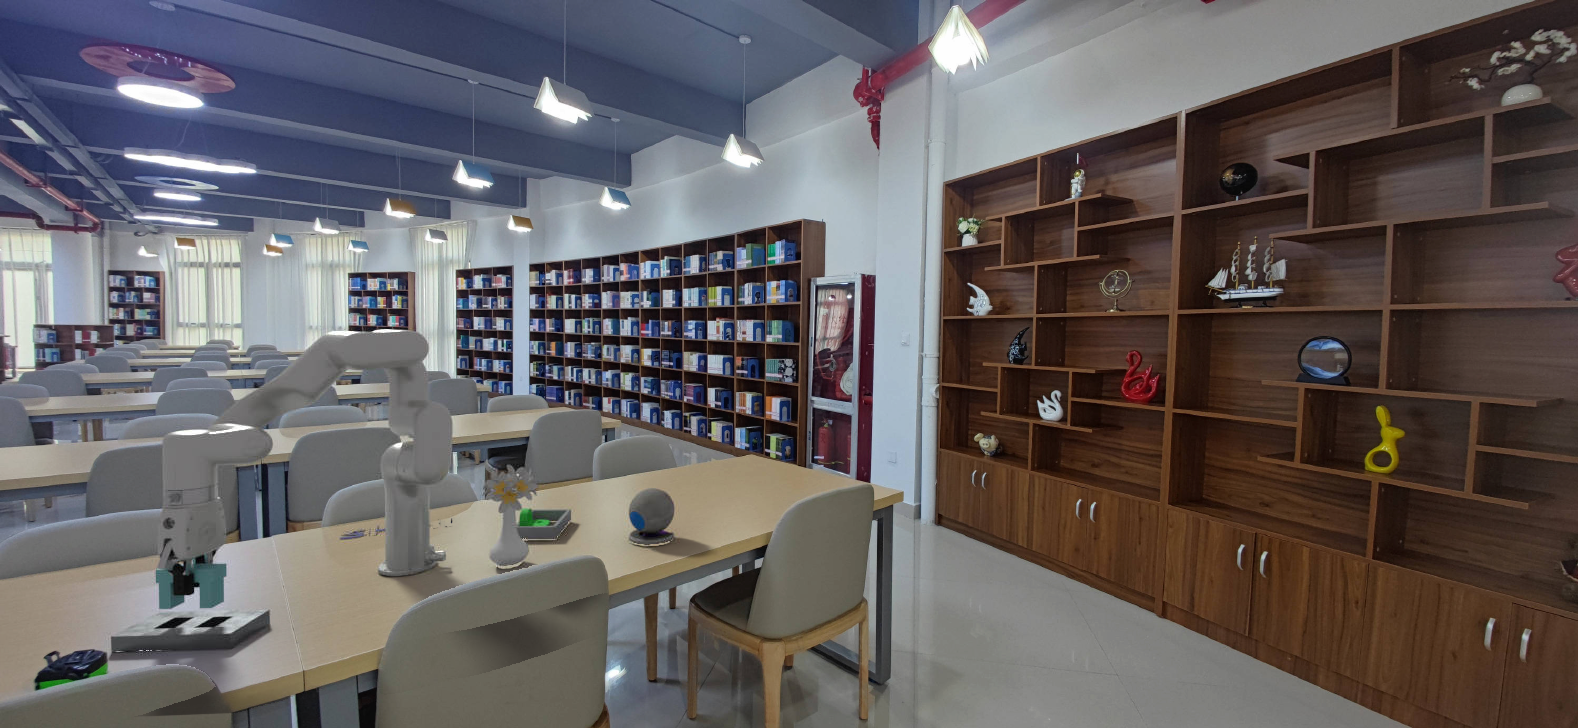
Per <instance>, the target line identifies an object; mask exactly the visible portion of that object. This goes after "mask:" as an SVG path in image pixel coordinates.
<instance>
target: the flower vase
mask: <svg viewBox="0 0 1578 728" xmlns="http://www.w3.org/2000/svg"><path fill="white" fill-rule="evenodd" d="M506 469H507V471H508V473H505V472H504V471H501V472H500V473H499V474H498V469H493V470H492V471H491V473H490V479H487V480H485V483H484V485H483V487H482V490H485V491H484V492H483V493H482V495H481V497H484V496H485V495H486V496H485V500H486V501H489V500H492V501H494V502H500V504H499V506H498V513H499V514H502V524H501V525H502V527H501V532H500V535H499V537H498V538H497V541H496V542H495V543H494V544H493V545H492V547H490V549H489V554H488V556H489V559H490V560H491V562H493V563H494V564H495V565H496V564H497V565H499V566H507V565H514V564H517V563H519V562H521V561H522V562H523V561H524V560H525V559H526V558H527V556H528V555H529V553H530V549H529V546H528V543H527V541H523V540H522V539H521V538H520V536H519V534H518V532H517V528H516V524H517V518H516V517H517V515H516V511H519V512H520V511H521V510H522V509H523V507H522V504H521V502H520V501H519V499H520V500H521V499H522V498H524V497H525V498H526V499H527V500H528V501H532V499H533V495H532V493H533V494H534V495H535V496H538V494H537V491H536V489H538V488H539V485H538V484H537V483H535V481H534V476H533V475H532V468H529V472H528V471H526V468H525V467H523V466H521V467H519V468H518V469H517V470H516V471H515V468H514V467H513V466H512V465H511V464H506ZM514 485H515V488H513V486H514Z"/></svg>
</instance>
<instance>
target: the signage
mask: <svg viewBox="0 0 1578 728" xmlns="http://www.w3.org/2000/svg"><path fill="white" fill-rule="evenodd" d="M357 530H358V531H359V530H360V531H362V530H363V529H357ZM375 530H376V529H375ZM358 531H354V532H356V533H350V532H349V533H350V534H345V535H356V536H340V537H339V540H340V539H343V540H351V539H352V538H353V539H359V538H361V537H360V536H363V535H364V533H365V532H358ZM363 531H364V530H363ZM369 531H370V530H369ZM378 531H385V527H383V528H379V527H377V530H376V531H375V532H377V533H379V532H378ZM346 532H347V531H346ZM370 532H371V531H370ZM347 533H348V532H347ZM358 537H359V538H358ZM363 537H364V536H363ZM353 539H352V540H353Z"/></svg>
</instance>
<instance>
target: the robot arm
mask: <svg viewBox="0 0 1578 728" xmlns="http://www.w3.org/2000/svg"><path fill="white" fill-rule="evenodd" d="M429 349H430V345H429V342H428V340H427V339H426V337H425V336H424V335H422V334H421V333H420V332H418V331H414V330H408V329H407V330H406V329H386V328H385V329H375V330H373V331H345V330H344V331H343V330H342V331H341V330H339V331H330V332H327V333H325V334H323V335H321V336H320V337H319V338H318V339H316V340H315V341H314V342H313V343H312V344H311V345H309V347H308V348H307V349H305V350H304V351H303V352H302V353H301V354H300V355H299V356H298V357H297V358H296V359H295V360H294V361H292V362H291V363H290V365H288V366H287V367H286V368H285V369H284V370H283V371H281V373H279V374H278V375H276V377H275V378H274V379H272V380H270V381H268V382H266V383H264V384H263V385H261V386H259V387H258V388H256V389H255V390H253V391H252V392H250V393H248V394H246V395H245V396H244V397H242V398H240V399H239V400H238V401H237V402H235V403H234V404H233V405H231V406H230V407H229V408H227V410H226V411H224V412H223V413H222V414H221V415H220V416H219V417H218V418H216V419H215V420H214V422H212V423H211V424H210V425H209V426H208V428H207V429H186V430H185V429H184V430H178V431H172V432H169V433H167V434H165V435H164V437H163V438H162V447H161V451H162V453H161V455H162V457H161V458H162V508H161V513H160V518H159V525H158V533H157V552H158V553H157V555H158V558H159V561H158V564H157V566H156V568H157V569H162V570H167V571H168V572H170V575H171V576H173V594H174V595H175V596H179V595H184V596H191V595H194V594H195V588H196V589H197V588H200V584H199V582H195V583H194V573H191V565H192V564H214V557H215V555H216V553H217V551H218V550H219V549H220V548H222V546H224V545H226V542H227V528H226V527H227V526H226V517H225V510H224V507H223V506H224V505H223V502H222V500H221V497H219V484H218V483H219V482H218V481H219V478H218V477H219V475H218V474H219V473H218V467H219V466H229V465H230V466H231V465H232V466H235V465H238V466H239V465H251V464H254V463H258V462H260V461H262V460H265V458H266V457H268V456H269V454H270V453H271V451H272V450H273V447H274V442H273V439H272V437H271V435H270V434H269V432H267V431H265V430H264V427H266V426H267V425H268V424H270V423H271V422H273V421H274V420H276V419H277V418H279V417H281V416H284V415H286V414H288V413H290V412H293V411H297V410H301V409H302V408H305V407H308V406H310V405H312V404H314V403H316V402H317V401H318V400H319V399H320V398H321V397H322V396H323V395H324V394H325V393H327V391H328V390H329V389H330V388H331V387H332V386H333V385H334V384H335V383H336V382H337V381H338V380H339V379H340V378H341V377H342V376H343V375H344V374H345V373H347V371H348V370H352V371H368V370H369V371H371V370H372V371H373V370H383V371H384V372H385V374H386V376H387V379H388V387H389V388H388V391H389V393H388V394H389V395H388V396H389V397H388V416H387V418H388V420H387V421H388V423H387V424H388V427H389V429H390V431H391V433H393V434H395V435H397V436H399V437H403V438H407V439H412V442H410V441H401V442H397V443H395V444H394V443H393V445H392V444H391V446H389V447H388V448H386V450H385V451H384V452H383V454H382V456H381V459H380V473H381V478H382V482H383V488H384V503H385V504H384V506H385V507H384V528H385V532H384V536H385V539H384V543H385V548H384V549H385V561H383V562H381V563H380V564H379V565H378V566H377V571H378V574H380V575H382V576H385V575H386V576H388V577H401V576H402V577H404V576H410V575H409V574H411V575H415V574H414V573H416V574H419V573H418V572H420V573H423V572H425V570H426V571H427V570H430V569H432V568H433V566H434V565H435V564H436V565H437V563H438V562H445V561H446V560H447V554H446V551H445V550H439V551H436V550H435V545H432V544H431V543H430V542H431V535H430V533H431V531H430V530H431V528H430V527H431V524H430V523H431V521H430V519H431V517H430V514H431V513H430V512H431V511H430V509H431V508H430V499H431V497H430V490H429V489H430V488H429V486H433V485H437V484H439V483H441V482H442V481H443V480H444V479H445V478H446V477H447V475H448V474H449V472H450V469H451V465H452V453H453V433H454V431H453V428H454V426H453V425H454V424H453V423H454V422H453V418H452V414H451V412H450V411H449V409H448V408H447V407H446V406H445V405H444V404H442V403H440V402H437V401H432V400H430V380H429V373H428V370H427V368H426V366H425V364H424V362H423V361H425V359H426V358H427V356H428V354H429V352H430V351H429ZM181 564H183V566H182V565H181ZM436 565H435V566H436ZM435 566H434V567H435ZM422 571H423V572H422ZM403 575H404V576H403Z"/></svg>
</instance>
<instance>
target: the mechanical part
mask: <svg viewBox="0 0 1578 728" xmlns="http://www.w3.org/2000/svg"><path fill="white" fill-rule="evenodd" d="M532 510H533V509H532V508H522V509H521V510H520V512H519V513H520V514H519V517H518V518H519V519H518V522H519V526H551V525H550V524H551V523H550V521H549V520H532Z"/></svg>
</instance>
